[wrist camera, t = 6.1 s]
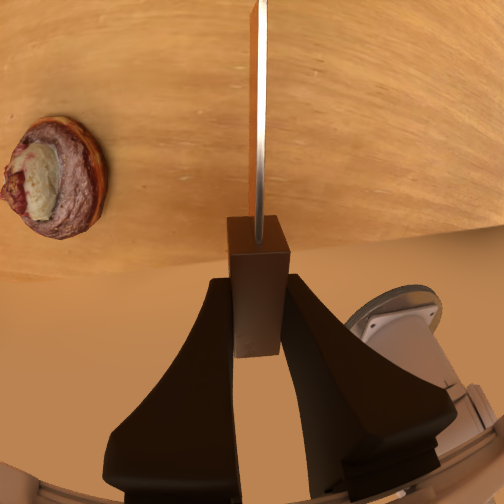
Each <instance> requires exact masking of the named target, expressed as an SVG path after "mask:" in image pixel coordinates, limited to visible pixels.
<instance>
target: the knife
mask: <svg viewBox="0 0 504 504" xmlns="http://www.w3.org/2000/svg"><path fill="white" fill-rule="evenodd" d="M267 30H268V0H257V1H256V3H255V5H254V7H253V9H252V11H251V13H250V55H249V216H242V217H227V243H228V265H229V278H230V289H231V301H232V321H233V339H234V357H235V358H247V357H261V356H272V355H279V350H280V343H281V339H280V335H281V327H282V318H283V310H284V301H285V291H286V287H287V283H288V272H289V263H290V253H291V251H290V249H289V246H288V244H287V241H286V238H285V236H284V233H283V231H282V228H281V226H280V223H279V221H278V218H277V216H276V215H269V216H264V183H265V144H266V97H267Z"/></svg>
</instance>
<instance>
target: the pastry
mask: <svg viewBox="0 0 504 504" xmlns="http://www.w3.org/2000/svg"><path fill="white" fill-rule="evenodd" d="M3 182H4V186H3V188H2V190H1V193H0V199H2V200H5V201H7V203H8V204H9V206H10V207H11V209H12V210H13V211H15V212H16V213H17V214H19V215H20V216H21V218H22V219H23V221H24V222H25V224H26V225H28V226H29V227H30V228H31V229H32V230H34V231H35V232H36V233H38V234H41V235H43V236H45V237H49V238H54V239H58V240H63V239H66V238H70V237H73V236H75V235H77V234H80V233H83V232H86V231H87V230H88V229H89V228H90V227H91V226H92V225H93V224H94V223H95V222H96V221H97V220H98V219H99V218H100V217H101V213H102V209H103V205H104V200H105V196H106V193H107V186H108V183H107V166H106V163H105V160H104V157H103V155H102V152H101V149H100V146H99V144H98V143H97V142H96V141H95V140H94V138H93V137H92V136H91V135H90V134H89V132H88V131H87V130H86V129H85V127H84V126H83V125H82V124H81V123H79V122H77V121H76V120H74V119H72V118H70V117H62V116H59V117H45V118H39V119H38V120H37V121H36V122H35V123H34V124H33V125H32V126H31V127H30V128H29V129H28V130H27V132H26V133H25V135H24V136H23V138H22V139H21V141H20V143H19V144H18V145H17V147H16V148H15V150H14V151H13V153H12V156H11V160H10V163H9V164H8V165H7V166H6V167H5V172H4V178H3Z"/></svg>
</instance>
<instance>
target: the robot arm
mask: <svg viewBox="0 0 504 504" xmlns="http://www.w3.org/2000/svg"><path fill="white" fill-rule="evenodd" d="M437 309H438V307H437V305H436V304H433V305H428V306H423V307H418V308H412V309H407V310H402V311H396V312H390V313H384V314H378V315H373V316H371V317H370V318H369V319H368V322H367V325H366V327H365V330H364V332H363V335H362V338H361V340H360V339H359V338H358V337H357V336H356V335H354V334H353V333H352V332H351V331H350V330H349V329H348V328H347V327H346V326H345V325H344V324H342V323H341V322H340V321H339V320H338V319H337V318H336V317H335V316H334V315H333V314H332V313H331V312H330V311H329V309H328V308H327V307H326V306H325V305H324V304H323V303H322V302H321V301H320V300H319V299H318V298H317V296H316V295H315V294H314V293H313V292H312V291H311V290H310V289H309V287H308V286H307V285H306V284H305V283H304V281H303V280H302V279H301V278H300V276H298V274H288V283H287V287H286V291H285V301H284V310H283V318H282V327H281V335H280V339H281V343H282V347H283V350H284V353H285V357H286V360H287V364H288V367H289V370H290V374H291V377H292V380H293V384H294V387H295V392H296V396H297V401H298V406H299V412H300V418H301V424H302V431H303V437H304V444H305V452H306V460H307V469H308V480H309V492H310V497H311V500H306V501H300V502H295V503H288V504H367V503H370V502H373V501H376V500H378V499H381V498H384V497H387V496H389V495H392V494H395V493H396V494H397V496H398V497H399V499H396V500H394V501H391V502H389V503H386V504H496V503H495V500H494V497H493V496H494V495H495V494H496V493H497V492H498V491H499V490H500V489H501V488H502V487H503V486H504V415H503V416H502V417H501V418H499V419H498V420H497V418H496V416H495V414H494V411H493V409H492V407H491V405H490V404H489V402H488V400H487V398H486V396H485V394H484V392H483V390H482V389H481V387H480V385H474V384H470V385H469V386H467V389H468V391H467V389H466V388H465V386H464V385H463V384H462V383H461V381H460V379H459V378H458V376H457V374H456V372H455V370H454V369H453V367H452V365H451V364H450V362H449V360H448V358H447V357H446V355H445V353H444V351H443V350H442V348H441V346H440V345H439V343H438V341H437V340H436V338H435V337H434V335H433V333H432V332H431V330H430V328H429V325H430V323H431V321H432V319H433V317H434V315H435V313H436V311H437ZM233 350H234V339H233V321H232V301H231V289H230V278H213V279H212V280H210V282H209V287H208V291H207V294H206V297H205V300H204V302H203V305H202V308H201V310H200V312H199V314H198V317H197V319H196V321H195V324H194V325H193V328H192V329H191V331H190V333H189V335H188V337H187V339H186V341H185V343H184V345H183V346H182V348H181V350H180V351H179V353H178V355H177V356H176V358H175V359H174V361H173V362H172V364H171V365H170V367H169V368H168V370H167V371H166V372H165V374H164V375H163V377H162V378H161V379H160V381H159V382H158V384H157V385H156V386H155V387H154V388H153V390H152V391H151V392H150V393H149V394H148V395H147V397H146V398H145V399H144V400H143V401H142V402H141V404H140V405H139V406H138V407H137V408H136V409H135V410H134V411H133V412H132V413H131V414H130V415H129V416H128V417H127V418H126V419H125V420H124V421H123V422H122V423H121V424H120V425H119V426H118V427H117V428H116V429H115V430H114V431H113V432H112V433H111V435H110V437H109V441H108V444H107V448H106V451H105V455H104V465H103V475H102V477H103V480H104V481H105V482H106V483H108V484H109V485H111V486H113V487H115V488H117V489H119V490H121V491H123V492H125V496H124V502H118V501H112V500H108V499H103V498H98V497H94V496H90V495H86V494H82V493H78V492H74V491H71V490H68V489H65V488H61V487H58V486H55V485H52V484H49V483H46V482H43V481H41V480H39V479H38V478H36V477H34V476H32V475H30V474H28V473H26V472H24V471H22V470H20V469H17V468H15V467H13V466H10V465H8V464H6V463H4V462H0V504H242V492H241V483H240V474H239V465H238V455H237V445H236V435H235V423H234V413H233ZM468 392H469V393H468ZM469 394H470V395H469Z"/></svg>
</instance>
